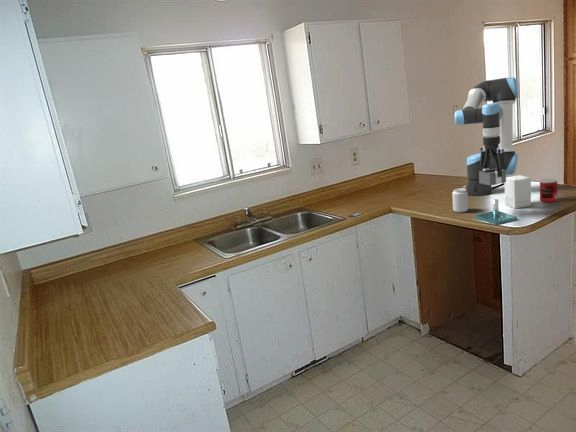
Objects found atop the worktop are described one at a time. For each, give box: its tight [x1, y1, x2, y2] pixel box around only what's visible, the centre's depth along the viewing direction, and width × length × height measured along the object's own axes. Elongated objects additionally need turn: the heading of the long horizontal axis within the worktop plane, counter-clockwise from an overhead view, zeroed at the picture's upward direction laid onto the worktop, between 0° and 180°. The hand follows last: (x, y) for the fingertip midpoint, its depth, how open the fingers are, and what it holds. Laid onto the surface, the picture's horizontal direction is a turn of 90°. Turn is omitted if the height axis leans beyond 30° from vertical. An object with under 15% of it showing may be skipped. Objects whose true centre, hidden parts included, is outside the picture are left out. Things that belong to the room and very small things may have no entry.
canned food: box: [539, 177, 558, 203], centre depth 220 cm, size 8×8×11 cm
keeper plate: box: [475, 199, 518, 226], centre depth 206 cm, size 14×12×10 cm
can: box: [451, 187, 469, 214], centre depth 225 cm, size 8×8×12 cm
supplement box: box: [504, 174, 532, 209], centre depth 220 cm, size 9×9×15 cm
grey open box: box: [479, 169, 507, 186], centre depth 211 cm, size 8×9×6 cm
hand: (492, 182), depth 212 cm, fingers closed on grey open box, 8 cm apart
